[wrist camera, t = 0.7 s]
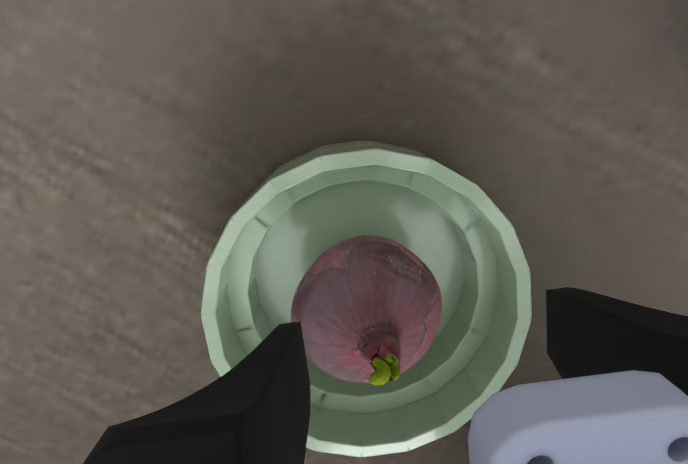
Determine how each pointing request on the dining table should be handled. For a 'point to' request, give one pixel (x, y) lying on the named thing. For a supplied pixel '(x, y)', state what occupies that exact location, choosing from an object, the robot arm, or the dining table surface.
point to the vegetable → (367, 310)
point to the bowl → (413, 233)
